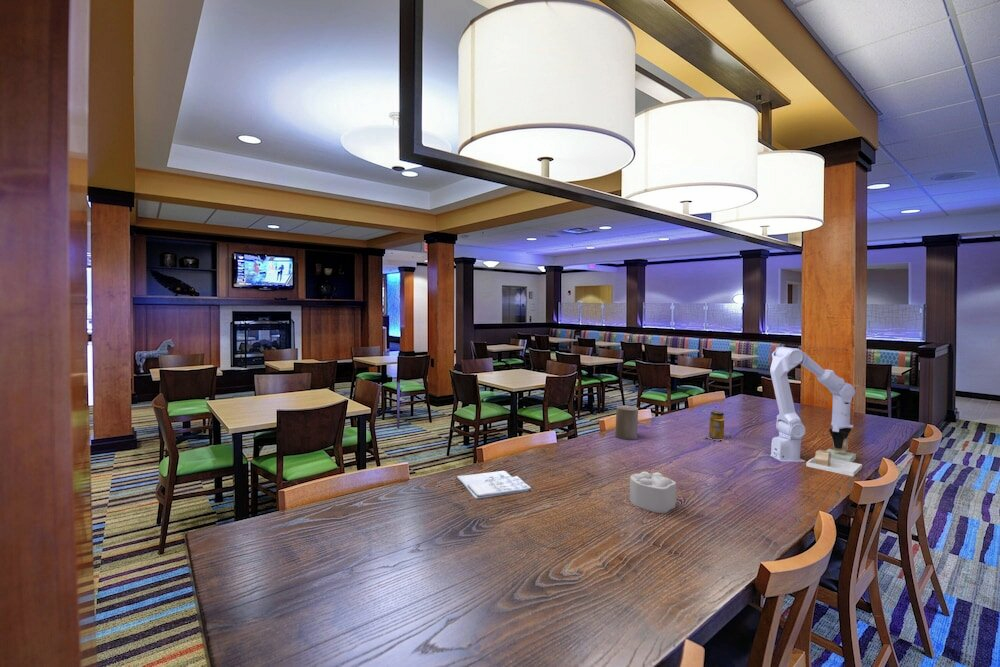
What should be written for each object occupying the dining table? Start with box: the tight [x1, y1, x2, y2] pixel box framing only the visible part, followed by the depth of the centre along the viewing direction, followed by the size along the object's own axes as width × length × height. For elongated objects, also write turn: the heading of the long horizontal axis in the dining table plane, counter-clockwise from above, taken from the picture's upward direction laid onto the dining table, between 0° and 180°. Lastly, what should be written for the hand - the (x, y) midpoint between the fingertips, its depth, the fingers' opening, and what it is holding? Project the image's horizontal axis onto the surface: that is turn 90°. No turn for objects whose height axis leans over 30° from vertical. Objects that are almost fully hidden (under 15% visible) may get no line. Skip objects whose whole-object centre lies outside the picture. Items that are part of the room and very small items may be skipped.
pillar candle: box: [615, 405, 639, 441], centre depth 217 cm, size 10×10×15 cm
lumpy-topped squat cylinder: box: [629, 471, 677, 514], centre depth 143 cm, size 10×13×9 cm
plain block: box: [814, 449, 831, 467], centre depth 178 cm, size 4×4×5 cm
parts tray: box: [805, 456, 863, 478], centre depth 176 cm, size 14×13×2 cm
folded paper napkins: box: [456, 470, 532, 500], centre depth 158 cm, size 19×20×2 cm
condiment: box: [703, 410, 725, 439], centre depth 216 cm, size 7×8×12 cm
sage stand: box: [825, 448, 857, 463], centre depth 186 cm, size 9×9×2 cm
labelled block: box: [832, 437, 849, 453], centre depth 186 cm, size 4×4×5 cm
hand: (839, 446), depth 186 cm, fingers closed on labelled block, 4 cm apart
